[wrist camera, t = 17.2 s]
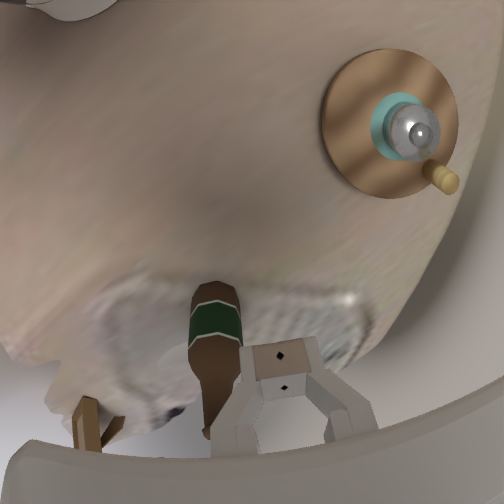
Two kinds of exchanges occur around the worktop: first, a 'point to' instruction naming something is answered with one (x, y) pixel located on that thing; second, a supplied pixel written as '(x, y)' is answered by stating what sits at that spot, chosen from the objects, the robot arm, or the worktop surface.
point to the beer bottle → (215, 345)
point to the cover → (411, 131)
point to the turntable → (371, 121)
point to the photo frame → (92, 427)
